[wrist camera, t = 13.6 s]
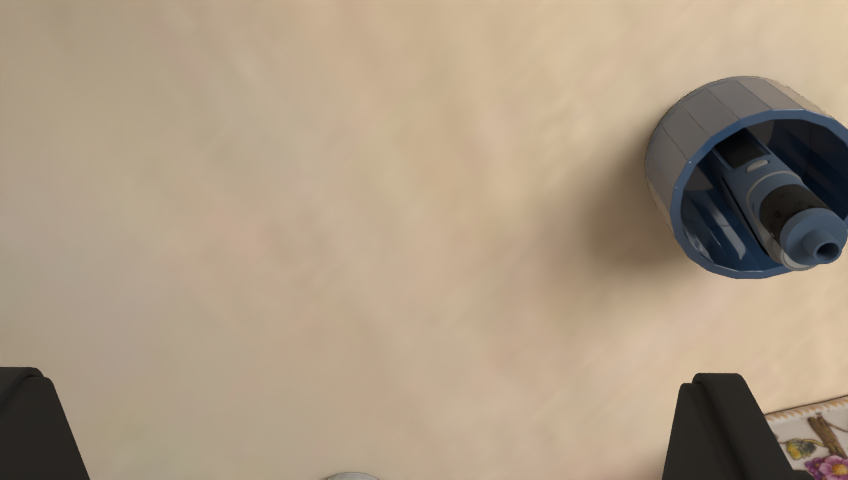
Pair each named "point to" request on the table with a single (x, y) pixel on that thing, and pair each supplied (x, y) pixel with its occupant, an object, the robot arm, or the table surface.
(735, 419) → the robot arm
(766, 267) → the pen cup
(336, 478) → the coffee cup
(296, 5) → the table surface
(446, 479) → the table surface
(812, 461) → the decorative jar
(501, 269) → the table surface
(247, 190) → the table surface
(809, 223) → the vaping device
